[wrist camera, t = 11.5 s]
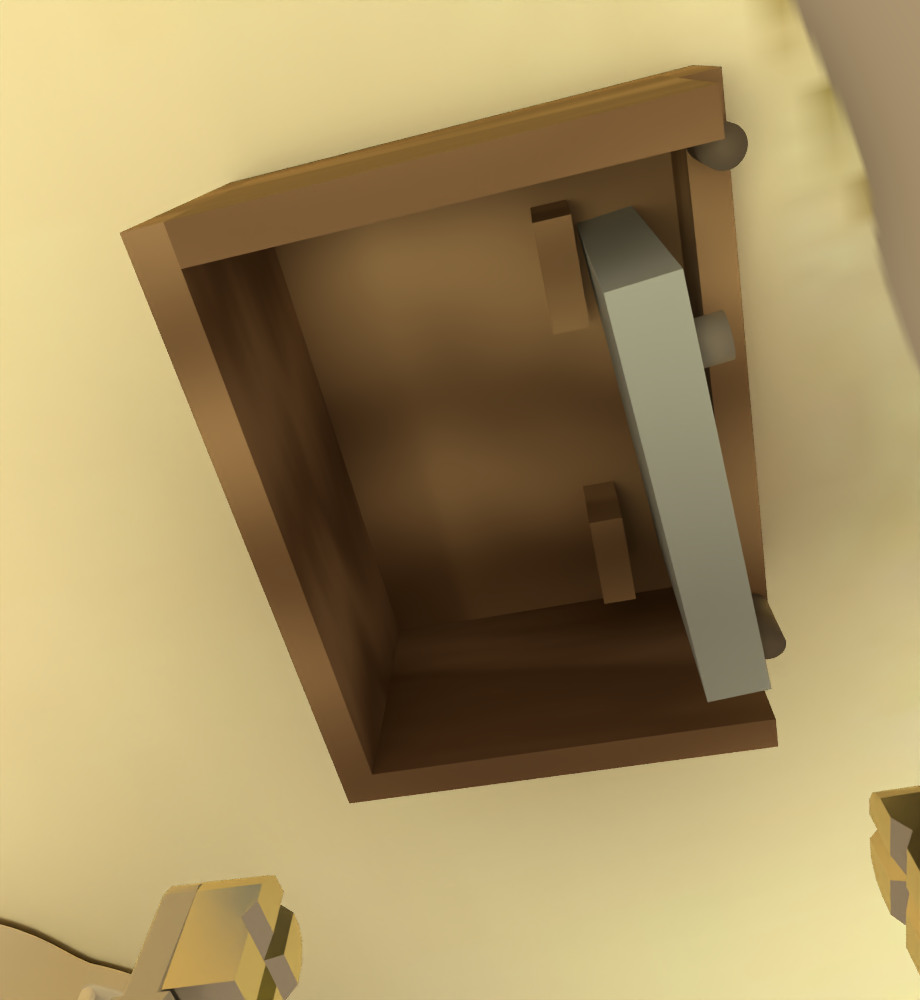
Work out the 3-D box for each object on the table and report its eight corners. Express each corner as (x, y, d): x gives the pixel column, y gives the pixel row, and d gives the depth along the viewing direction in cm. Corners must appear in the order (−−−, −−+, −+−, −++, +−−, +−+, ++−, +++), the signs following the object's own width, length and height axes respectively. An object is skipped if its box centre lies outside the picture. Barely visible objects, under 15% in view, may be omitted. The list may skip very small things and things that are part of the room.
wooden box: (744, 582, 31) (815, 741, 23) (384, 640, 33) (349, 803, 26) (692, 65, 23) (774, 69, 16) (229, 182, 25) (119, 233, 18)
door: (736, 524, 28) (811, 680, 21) (659, 543, 29) (707, 702, 22) (666, 193, 24) (733, 253, 17) (576, 223, 24) (603, 293, 17)
